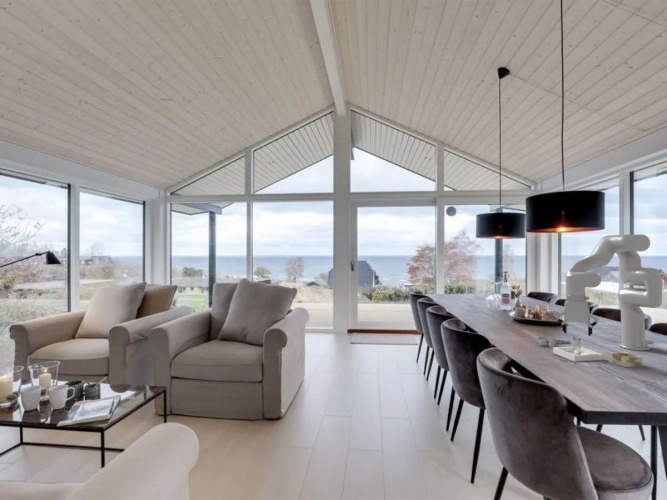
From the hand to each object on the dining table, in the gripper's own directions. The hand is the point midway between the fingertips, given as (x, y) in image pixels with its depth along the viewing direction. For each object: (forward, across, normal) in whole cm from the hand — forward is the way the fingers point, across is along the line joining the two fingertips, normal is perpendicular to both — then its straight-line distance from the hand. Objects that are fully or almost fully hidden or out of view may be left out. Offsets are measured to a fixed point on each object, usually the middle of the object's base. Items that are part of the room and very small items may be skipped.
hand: (577, 334), depth 165 cm
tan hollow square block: (+12, -17, +1) cm, 21 cm away
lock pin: (+10, 0, 0) cm, 11 cm away
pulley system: (+12, +14, -20) cm, 27 cm away
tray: (+12, 0, 0) cm, 12 cm away
